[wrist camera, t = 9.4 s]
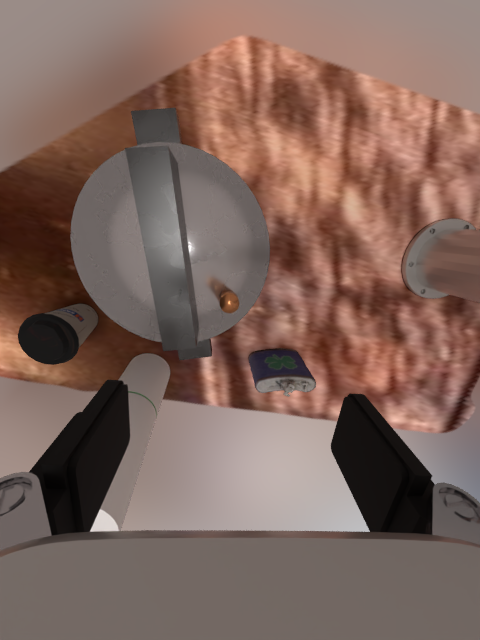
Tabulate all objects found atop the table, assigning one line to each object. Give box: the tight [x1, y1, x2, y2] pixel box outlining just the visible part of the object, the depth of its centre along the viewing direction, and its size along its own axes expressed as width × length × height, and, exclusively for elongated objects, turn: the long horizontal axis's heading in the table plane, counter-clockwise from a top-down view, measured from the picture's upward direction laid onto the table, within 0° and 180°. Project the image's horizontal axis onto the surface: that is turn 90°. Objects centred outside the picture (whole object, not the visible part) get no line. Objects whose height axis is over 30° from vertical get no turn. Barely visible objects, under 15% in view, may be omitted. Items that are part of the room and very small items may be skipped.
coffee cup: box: [18, 304, 98, 365], centre depth 35 cm, size 7×7×10 cm
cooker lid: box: [71, 142, 270, 351], centre depth 24 cm, size 19×19×6 cm
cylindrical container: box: [90, 353, 170, 532], centre depth 33 cm, size 7×7×25 cm
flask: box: [249, 348, 316, 397], centre depth 40 cm, size 9×3×11 cm, turn 89°
